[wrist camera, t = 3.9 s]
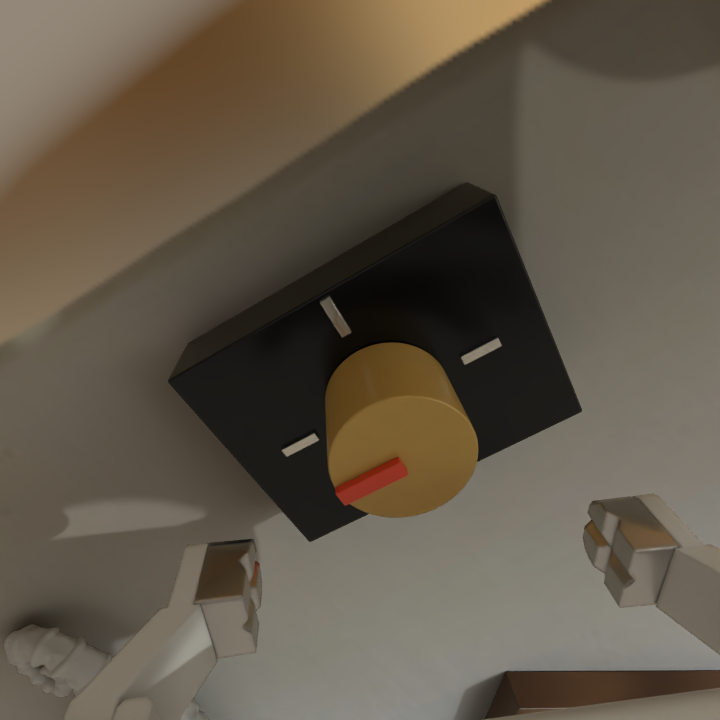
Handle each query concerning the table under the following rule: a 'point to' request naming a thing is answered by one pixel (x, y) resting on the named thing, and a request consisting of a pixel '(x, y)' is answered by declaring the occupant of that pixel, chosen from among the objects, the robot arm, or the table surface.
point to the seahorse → (62, 662)
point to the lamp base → (590, 688)
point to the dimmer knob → (396, 432)
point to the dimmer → (374, 326)
